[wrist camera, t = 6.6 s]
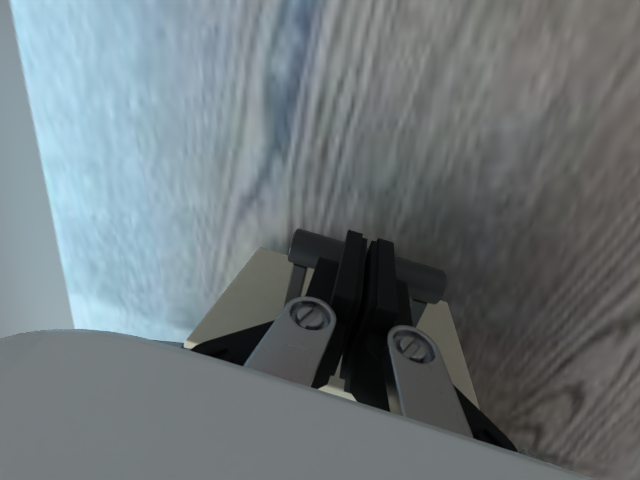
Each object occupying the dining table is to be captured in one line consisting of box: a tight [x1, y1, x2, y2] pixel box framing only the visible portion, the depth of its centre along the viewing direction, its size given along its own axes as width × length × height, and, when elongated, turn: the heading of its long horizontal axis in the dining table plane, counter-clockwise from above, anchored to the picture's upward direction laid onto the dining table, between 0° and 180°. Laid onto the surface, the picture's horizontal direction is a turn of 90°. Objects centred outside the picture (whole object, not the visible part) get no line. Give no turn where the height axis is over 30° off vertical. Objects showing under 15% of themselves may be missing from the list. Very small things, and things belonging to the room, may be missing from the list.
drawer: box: [186, 229, 480, 410], centre depth 17 cm, size 19×12×8 cm, turn 167°
